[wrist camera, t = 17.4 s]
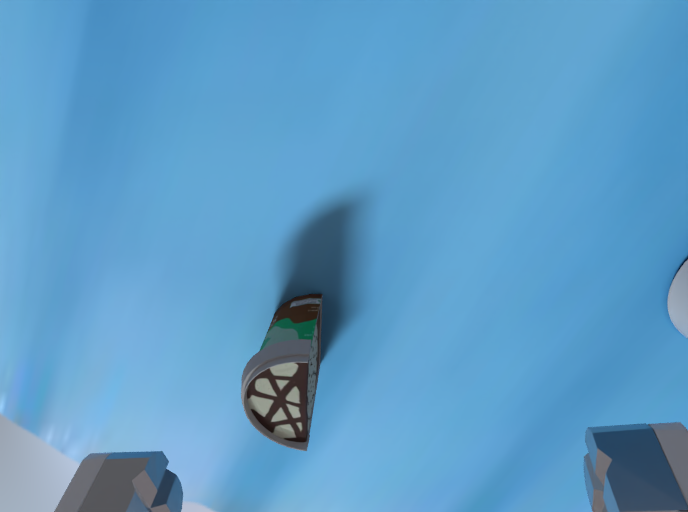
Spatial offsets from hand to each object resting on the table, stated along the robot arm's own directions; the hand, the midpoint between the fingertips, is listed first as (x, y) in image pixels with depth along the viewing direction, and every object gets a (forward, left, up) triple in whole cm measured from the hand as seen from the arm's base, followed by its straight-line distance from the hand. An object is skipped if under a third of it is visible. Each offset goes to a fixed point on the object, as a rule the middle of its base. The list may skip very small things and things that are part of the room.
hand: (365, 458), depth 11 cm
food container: (+14, +26, -35) cm, 46 cm away
